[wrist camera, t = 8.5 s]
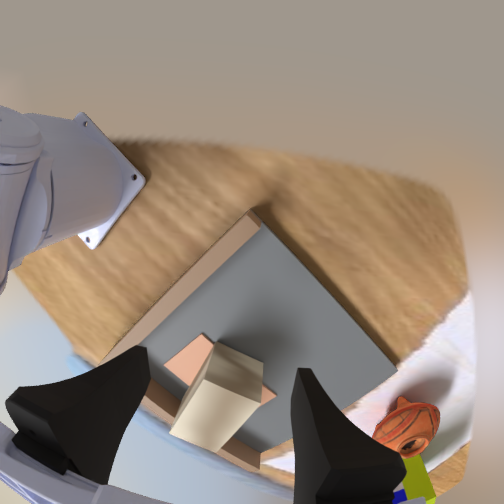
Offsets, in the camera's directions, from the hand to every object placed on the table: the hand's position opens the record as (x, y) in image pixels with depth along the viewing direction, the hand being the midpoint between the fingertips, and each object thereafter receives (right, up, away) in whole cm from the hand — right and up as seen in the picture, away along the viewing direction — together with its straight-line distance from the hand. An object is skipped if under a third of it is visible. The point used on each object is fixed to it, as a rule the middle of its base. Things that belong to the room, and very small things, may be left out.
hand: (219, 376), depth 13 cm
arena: (+2, -4, +12) cm, 13 cm away
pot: (+18, -12, +13) cm, 25 cm away
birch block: (-1, -6, +11) cm, 13 cm away
